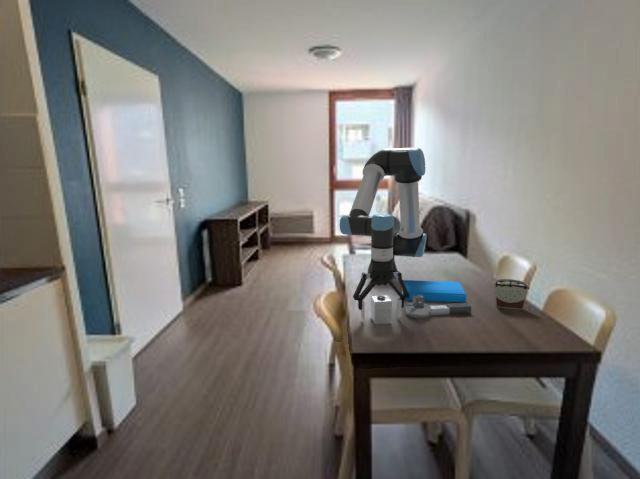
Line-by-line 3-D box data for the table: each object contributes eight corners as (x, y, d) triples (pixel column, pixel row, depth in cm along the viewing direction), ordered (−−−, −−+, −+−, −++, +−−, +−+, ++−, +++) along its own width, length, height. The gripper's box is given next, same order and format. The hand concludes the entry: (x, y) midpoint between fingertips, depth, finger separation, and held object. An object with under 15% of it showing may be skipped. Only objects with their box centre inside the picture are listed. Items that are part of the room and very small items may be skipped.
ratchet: (402, 310, 146) (402, 292, 145) (462, 307, 148) (464, 290, 147) (409, 319, 138) (410, 300, 136) (474, 316, 140) (475, 298, 138)
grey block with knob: (370, 317, 140) (371, 294, 138) (386, 316, 140) (387, 293, 139) (374, 324, 134) (374, 300, 132) (391, 323, 135) (391, 299, 133)
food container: (524, 304, 151) (527, 280, 149) (527, 310, 145) (529, 284, 143) (490, 301, 155) (492, 277, 153) (491, 306, 149) (493, 281, 147)
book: (401, 280, 173) (458, 281, 169) (400, 289, 174) (458, 290, 170) (402, 292, 157) (466, 293, 153) (402, 302, 158) (466, 303, 153)
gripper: (348, 262, 128) (348, 323, 132) (420, 260, 130) (418, 319, 134) (345, 257, 136) (345, 314, 140) (412, 255, 138) (411, 311, 142)
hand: (380, 317), depth 137 cm, fingers open, 12 cm apart
